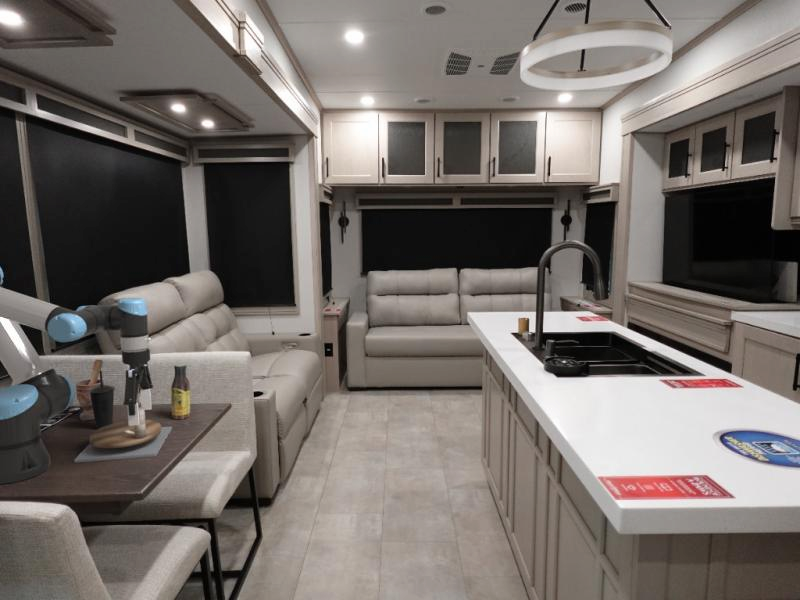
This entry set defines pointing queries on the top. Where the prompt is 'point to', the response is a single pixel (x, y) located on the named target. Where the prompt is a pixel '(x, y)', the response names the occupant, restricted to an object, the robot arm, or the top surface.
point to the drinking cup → (102, 403)
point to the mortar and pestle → (84, 388)
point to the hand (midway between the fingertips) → (140, 417)
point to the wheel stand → (125, 449)
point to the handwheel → (125, 433)
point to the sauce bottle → (180, 393)
